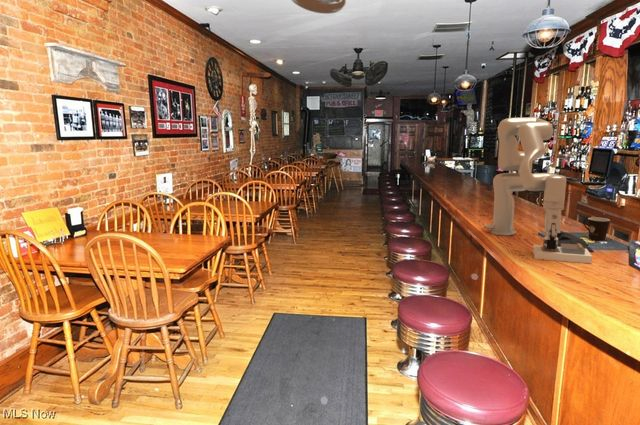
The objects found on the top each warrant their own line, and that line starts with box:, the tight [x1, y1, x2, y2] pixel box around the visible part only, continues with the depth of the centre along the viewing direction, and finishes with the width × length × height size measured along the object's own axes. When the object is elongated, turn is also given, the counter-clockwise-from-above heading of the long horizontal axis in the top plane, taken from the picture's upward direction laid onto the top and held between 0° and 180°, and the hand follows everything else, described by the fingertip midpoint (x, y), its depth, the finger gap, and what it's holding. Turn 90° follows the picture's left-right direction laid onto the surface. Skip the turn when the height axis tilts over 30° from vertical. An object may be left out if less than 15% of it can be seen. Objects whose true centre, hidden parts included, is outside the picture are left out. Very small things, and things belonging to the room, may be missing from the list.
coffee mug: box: [582, 216, 611, 242], centre depth 190 cm, size 12×9×10 cm
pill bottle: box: [542, 230, 559, 252], centre depth 166 cm, size 5×5×9 cm
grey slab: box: [561, 243, 585, 254], centre depth 163 cm, size 8×8×3 cm
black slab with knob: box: [556, 230, 595, 253], centre depth 182 cm, size 15×22×5 cm
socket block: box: [532, 244, 593, 264], centre depth 165 cm, size 20×11×3 cm, turn 66°
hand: (550, 246), depth 167 cm, fingers closed on pill bottle, 5 cm apart
